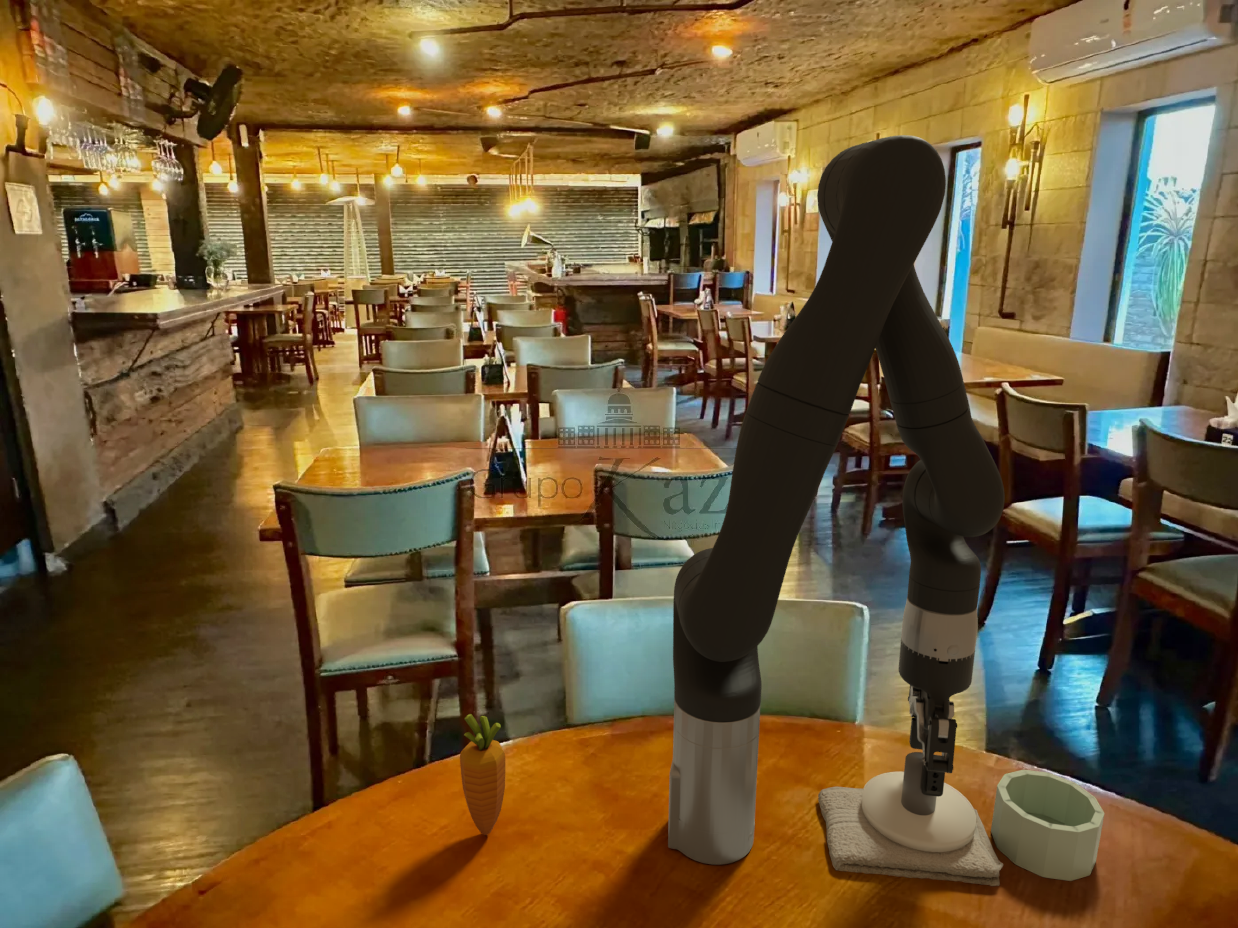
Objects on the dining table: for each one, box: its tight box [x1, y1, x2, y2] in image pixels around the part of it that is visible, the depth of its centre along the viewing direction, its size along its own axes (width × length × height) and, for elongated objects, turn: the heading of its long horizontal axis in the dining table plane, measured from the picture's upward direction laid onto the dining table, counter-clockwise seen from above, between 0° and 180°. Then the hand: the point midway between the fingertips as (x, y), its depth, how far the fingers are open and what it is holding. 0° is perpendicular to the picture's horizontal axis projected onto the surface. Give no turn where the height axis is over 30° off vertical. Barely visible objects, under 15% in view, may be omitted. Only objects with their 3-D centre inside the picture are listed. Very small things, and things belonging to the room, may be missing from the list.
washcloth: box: [817, 786, 1004, 887], centre depth 88 cm, size 12×18×3 cm, turn 83°
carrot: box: [459, 713, 506, 836], centre depth 88 cm, size 5×5×15 cm
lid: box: [862, 751, 976, 852], centre depth 88 cm, size 12×12×7 cm
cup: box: [990, 769, 1105, 882], centre depth 87 cm, size 10×10×6 cm
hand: (925, 769), depth 90 cm, fingers open, 8 cm apart
